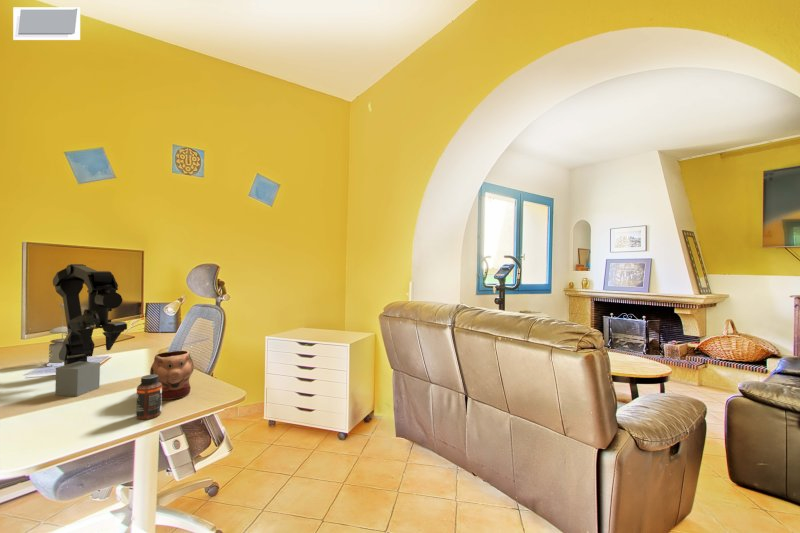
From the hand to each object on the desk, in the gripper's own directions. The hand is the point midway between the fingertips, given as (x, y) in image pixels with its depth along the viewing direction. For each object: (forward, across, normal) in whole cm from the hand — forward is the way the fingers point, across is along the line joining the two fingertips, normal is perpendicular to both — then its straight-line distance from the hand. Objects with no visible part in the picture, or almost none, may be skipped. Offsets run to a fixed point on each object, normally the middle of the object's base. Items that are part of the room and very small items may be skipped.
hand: (97, 349), depth 128 cm
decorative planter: (+11, +34, -4) cm, 37 cm away
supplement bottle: (+11, +41, -20) cm, 47 cm away
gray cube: (+12, +4, -9) cm, 15 cm away
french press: (+13, -36, +17) cm, 42 cm away
